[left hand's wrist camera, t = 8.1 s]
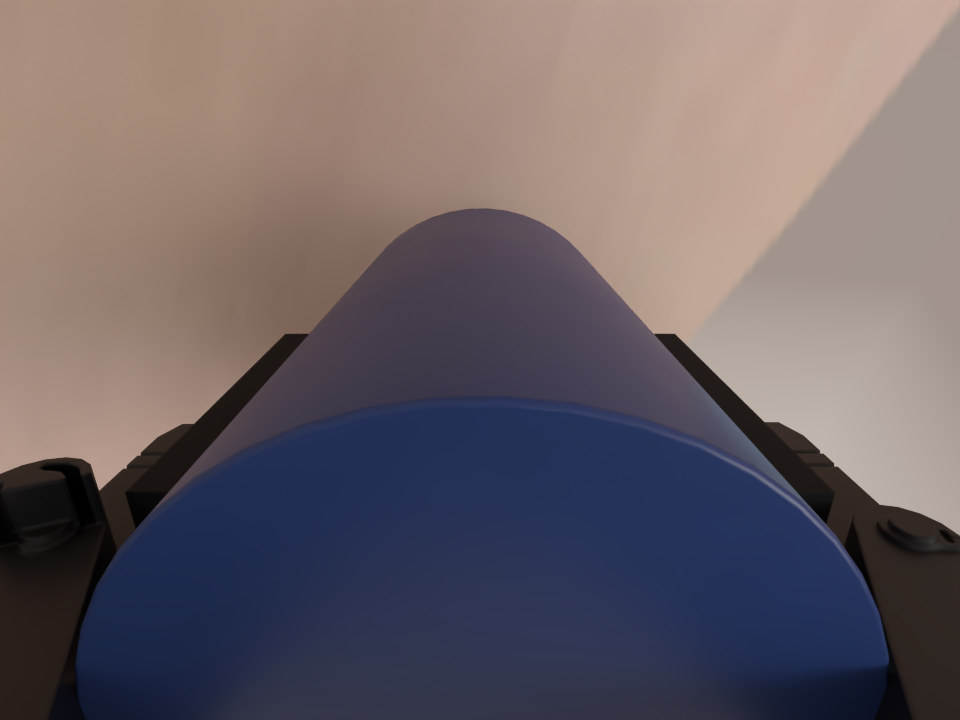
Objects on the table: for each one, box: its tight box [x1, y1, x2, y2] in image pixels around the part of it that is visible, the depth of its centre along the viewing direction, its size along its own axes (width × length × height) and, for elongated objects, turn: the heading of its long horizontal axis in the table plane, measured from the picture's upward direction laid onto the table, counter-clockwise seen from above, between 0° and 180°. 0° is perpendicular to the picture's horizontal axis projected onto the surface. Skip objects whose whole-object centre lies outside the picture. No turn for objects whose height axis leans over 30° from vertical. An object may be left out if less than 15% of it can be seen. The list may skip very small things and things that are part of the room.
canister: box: [75, 209, 889, 720], centre depth 11 cm, size 8×8×12 cm
